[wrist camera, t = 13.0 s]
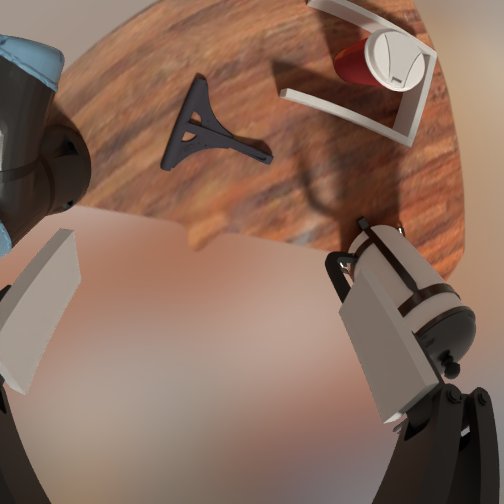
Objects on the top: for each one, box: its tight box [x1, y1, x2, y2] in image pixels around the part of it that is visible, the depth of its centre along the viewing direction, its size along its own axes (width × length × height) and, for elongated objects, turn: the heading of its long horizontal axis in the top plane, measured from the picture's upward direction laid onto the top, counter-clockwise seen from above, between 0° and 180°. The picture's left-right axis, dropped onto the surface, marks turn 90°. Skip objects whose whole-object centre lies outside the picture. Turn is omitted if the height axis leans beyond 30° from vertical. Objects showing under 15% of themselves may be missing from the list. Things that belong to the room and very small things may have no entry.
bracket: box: [161, 78, 273, 171], centre depth 36 cm, size 14×15×3 cm
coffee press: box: [325, 216, 476, 379], centre depth 36 cm, size 17×16×30 cm
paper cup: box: [334, 28, 425, 91], centre depth 25 cm, size 8×8×14 cm
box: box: [279, 0, 437, 147], centre depth 29 cm, size 20×17×5 cm
